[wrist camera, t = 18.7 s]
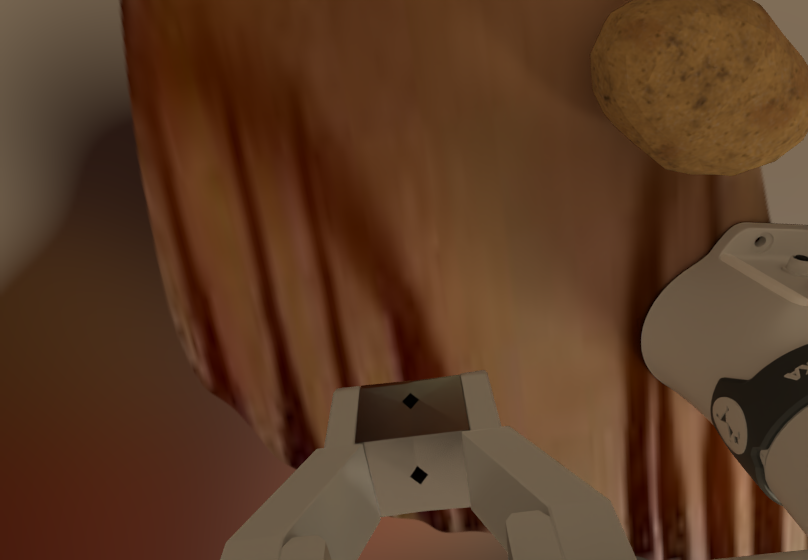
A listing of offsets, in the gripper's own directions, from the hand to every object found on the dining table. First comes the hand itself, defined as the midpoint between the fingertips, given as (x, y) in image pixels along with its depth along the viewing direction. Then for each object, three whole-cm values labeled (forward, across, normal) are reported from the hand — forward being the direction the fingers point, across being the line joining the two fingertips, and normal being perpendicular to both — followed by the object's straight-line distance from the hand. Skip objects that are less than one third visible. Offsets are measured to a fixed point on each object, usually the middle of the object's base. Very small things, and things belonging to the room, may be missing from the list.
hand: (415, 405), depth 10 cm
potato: (+29, +18, +1) cm, 34 cm away
